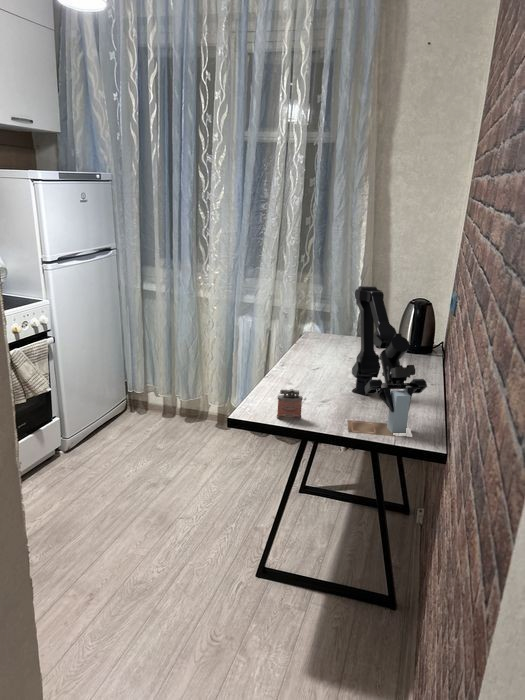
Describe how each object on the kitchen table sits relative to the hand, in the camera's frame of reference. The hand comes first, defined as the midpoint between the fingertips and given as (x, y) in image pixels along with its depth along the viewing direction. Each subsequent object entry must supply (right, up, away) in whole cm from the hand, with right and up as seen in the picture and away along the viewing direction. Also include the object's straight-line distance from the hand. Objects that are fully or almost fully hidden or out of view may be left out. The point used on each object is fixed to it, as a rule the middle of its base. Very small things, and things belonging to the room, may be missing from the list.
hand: (400, 411), depth 167 cm
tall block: (0, -6, +3) cm, 7 cm away
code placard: (-6, -6, +4) cm, 9 cm away
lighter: (-34, -3, +9) cm, 36 cm away
